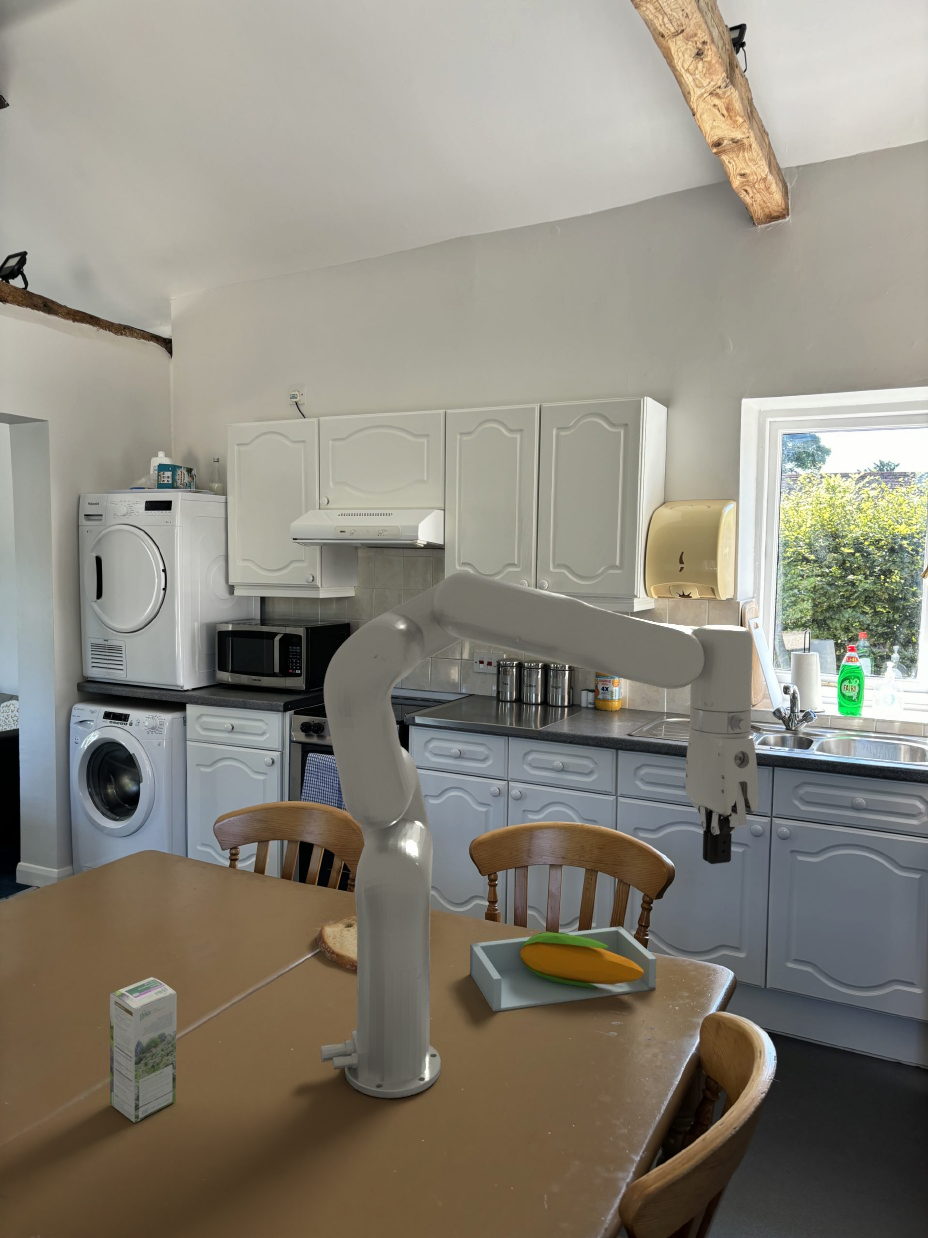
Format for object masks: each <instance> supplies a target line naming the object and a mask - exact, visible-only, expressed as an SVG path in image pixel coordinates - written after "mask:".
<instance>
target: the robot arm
mask: <svg viewBox="0 0 928 1238" xmlns="http://www.w3.org/2000/svg"><path fill="white" fill-rule="evenodd" d="M462 640H466V641H469V642H472V643H477V644H480V645H481V644H482V645H486V646H489V647H495V648H500V649H503V650H508V651H512V652H517V653H520V654H523V655H527V656H531V657H536V658H539V659H544V660H547V661H551V662H555V663H557V664H561V665H565V666H572V667H576V668H582V669H585V670H589V671H593V672H597V673H600V674H604V675H607V676H611V677H615V678H619V679H622V680H626V681H627V680H628V681H632V682H635V683H640V684H644V685H648V686H653V687H656V688H661V689H666V690H677V689H682V688H685V687H687V686H689V685H690V696H689V699H690V700H689V701H690V704H689V705H690V706H689V709H690V710H689V736H688V742H687V748H686V749H687V750H686V761H685V779H684V781H685V782H684V783H685V793H686V795H687V797H688V798H689V799H690V801H691V805H692V806H693V807H694V808H695V809H696V811H697V812H698V813H699V815H700V816H699V817H700V827H701V829H702V830H703V832H702V859H703V861H705V862H707V863H708V864H711V865H717V864H725V863H730V862H731V860H732V834H734V833H735V830H736V828H741V827H747V824H748V821H747V813H748V814H755V813H757V810H758V808H759V807H758V805H759V790H758V789H759V784H758V782H759V781H758V763H757V755H756V753H757V752H756V747H755V743H754V742H755V741H754V738H753V736H751V726H752V723H751V720H752V690H753V689H752V688H753V685H752V684H753V683H752V681H753V647H754V645H753V642H754V641H753V636H752V632H751V631H750V630H749V629H748V628H746V627H743V626H739V625H728V624H727V625H726V624H724V625H723V624H713V625H712V624H711V625H710V624H709V625H708V624H707V625H702V626H689V625H687V626H686V625H677V624H670V623H664V622H663V623H662V622H653V621H649V620H645V619H641V618H637V617H633V616H628V615H625V614H621V613H617V612H613V611H609V610H606V609H603V608H600V607H597V606H594V605H591V604H589V603H587V602H584V601H583V600H579V599H577V598H574V597H571V596H567V595H564V594H561V593H556V592H551V591H546V590H545V589H544V590H542V589H539V588H536V587H530V586H528V585H527V586H526V585H523V584H518V583H513V582H509V581H505V580H503V579H497V578H494V577H490V576H485V575H481V574H477V573H473V572H469V571H461V572H460V571H459V572H455V573H453V574H450V575H449V576H447V577H446V578H444V579H443V580H440V581H439V582H438V583H436V584H435V585H433V586H432V587H431V586H430V587H429V588H428V589H426V590H424V591H423V592H421V593H419V594H418V595H415V596H413V597H412V598H410V599H408V600H405V602H403V603H400V604H399V605H397V606H395V607H393V608H392V609H389V610H388V611H386V612H383V613H382V614H379V615H378V616H377V617H374V618H373V619H371V620H369V621H368V622H366V623H365V624H363V625H362V626H360V628H358V629H357V630H356V631H355V632H354V633H352V634H351V635H350V636H349V637H348V638H347V639H346V640H345V641H344V642H343V643H342V644H341V646H339V648H338V649H337V650H336V651H335V653H334V655H333V656H332V658H331V660H330V662H329V664H328V667H327V670H326V673H325V677H324V683H323V701H324V706H325V707H324V708H325V713H326V714H325V715H326V720H327V723H328V729H329V734H330V738H331V739H330V740H331V744H332V750H333V754H334V755H333V756H334V759H335V764H336V769H337V774H338V778H339V782H340V783H339V784H340V791H341V797H342V800H343V804H344V807H345V809H346V811H347V813H348V815H349V816H350V817H351V818H352V820H354V822H356V823H357V824H358V825H360V829H361V833H362V837H363V842H364V843H363V844H364V846H363V849H362V851H361V854H360V857H359V860H358V863H357V866H356V874H355V883H354V894H355V896H354V897H355V911H356V912H355V913H356V915H357V971H356V972H357V973H356V974H357V976H356V981H357V982H356V983H357V984H356V985H357V987H356V999H357V1001H356V1005H357V1006H356V1008H357V1009H356V1014H357V1015H356V1020H357V1021H356V1030H353V1031H351V1039H347V1040H344V1043H339V1044H338V1043H337V1044H328V1045H327V1044H326V1045H321V1046H320V1059H321V1063H327V1062H332V1068H333V1070H335V1071H336V1070H339V1069H344V1075H345V1079H346V1080H347V1082H348V1083H349V1084H350V1086H352V1087H353V1088H354V1089H355V1090H356V1091H359V1092H360V1093H362V1094H366V1095H368V1096H371V1097H374V1098H375V1097H376V1098H382V1099H397V1098H403V1097H404V1098H405V1097H409V1096H411V1095H412V1096H413V1095H416V1094H418V1093H421V1092H422V1091H425V1090H426V1089H428V1088H429V1087H431V1086H432V1085H433V1084H434V1083H435V1082H436V1081H437V1080H438V1079H439V1076H440V1074H441V1067H442V1066H441V1065H442V1062H441V1057H440V1054H439V1053H438V1051H437V1050H436V1049H435V1048H434V1047H433V1046H432V1045H431V1044H430V1024H431V1023H430V1019H431V1018H430V1009H431V1005H430V1004H431V1001H430V1000H431V999H430V998H431V900H432V899H431V895H432V876H433V875H432V873H433V857H434V856H433V855H434V845H433V844H434V843H433V837H432V832H431V828H430V823H429V818H428V817H429V816H428V814H427V810H426V804H425V801H424V795H423V791H422V790H423V789H422V785H421V783H420V782H421V781H420V777H419V773H418V770H417V766H416V763H415V761H414V759H413V757H412V756H411V754H410V753H409V752H408V751H407V750H406V749H405V748H404V747H402V745H401V742H400V738H399V734H398V733H399V732H398V728H397V727H398V726H397V722H396V716H395V712H394V710H393V707H392V701H391V699H392V693H393V689H394V687H395V686H396V685H397V684H398V683H399V682H400V681H402V680H404V679H405V678H406V677H408V676H409V675H410V674H411V673H412V672H414V670H415V668H416V666H417V665H419V664H421V663H422V662H424V661H426V660H427V659H430V658H432V657H433V656H435V655H437V654H439V653H441V652H442V651H444V650H447V649H448V648H450V647H451V646H453V645H455V644H456V643H458V642H460V641H462Z"/></svg>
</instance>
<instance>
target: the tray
mask: <svg viewBox="0 0 928 1238" xmlns="http://www.w3.org/2000/svg"><path fill="white" fill-rule="evenodd" d="M565 933H566V934H569V935H575V936H580V937H585V938H589V939H593V940H596V941H598V942H601V943H603V944H605V945H607V946H609V947H608V948H606V949H604V950H607V951H609V952H612V953H614V954H617V955H620V956H622V957H625V958H627V959H630V960H631V961H633V962H634V963H636V964H637V965H638V966H640V967H641V968H642V969H643V971H644V974H643V976H642V977H641V978H640V979H638V980H636V981H632V982H626V983H619V984H613V985H611V984H592V985H595V986H597V987H598V988H591V987H583V986H576V985H570V984H565V983H559V982H554V981H552V980H549V979H546V978H543V977H540V976H538V975H536V974H535V973H533V972H531V971H530V970H529V969H528V968H527V967H525V965H524V964H523V963H522V960H521V959H520V949H521V947H522V945H523V944H524V943H525V942H526V941H527V940H528V939H529V938H531V937H532V936H526V937H518V938H510V939H501V940H493V941H492V940H491V941H490V940H489V941H483V942H475V943H470V945H469V947H470V949H469V950H470V951H469V954H470V955H469V974H470V977H472V979H473V981H474V982H475V984H476V986H477V987H478V988H479V991H480V992H481V994H482V995H483V997H484V999H485V1000H486V1002H487V1003H488V1005H489V1007H490V1008H491V1010H492V1011H493V1012H494V1013H495V1012H501V1011H508V1010H514V1009H522V1008H530V1007H536V1006H544V1005H551V1004H559V1003H564V1002H573V1001H580V1000H587V999H594V998H602V997H609V996H615V995H623V994H628V993H629V994H630V993H637V992H645V991H651V990H656V987H657V986H656V984H657V957H655V956H654V954H653V953H651V952H650V951H649V950H648V949H647V948H645V947H644V946H643V945H642V944H641V943H640V942H639V941H638V940H637V939H636V938H634V937H633V936H632V935H631V934H630V933H629V932H628V931H626V929H624V928H623V927H622V926H614V927H613V926H611V927H604V928H596V929H595V928H594V929H588V930H578V931H569V932H565Z"/></svg>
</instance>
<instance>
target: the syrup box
mask: <svg viewBox="0 0 928 1238" xmlns="http://www.w3.org/2000/svg"><path fill="white" fill-rule="evenodd" d="M177 1000H178V999H177V992H176V991H175V990H174V989H172V988H171V987H170V986H169V985H168V984H166V983H164V982H163V981H161V980H159V979H157V978H155V977H149V978H146V979H143V980H141V981H137V982H136V983H133V984H131V985H128V986H126V987H124V988H123V987H122V988H121V989H118V990H116V991H113V992H111V993H110V994H109V1019H110V1020H109V1055H110V1057H109V1060H110V1063H109V1065H110V1067H109V1069H110V1071H109V1072H110V1073H109V1078H110V1079H109V1083H110V1084H109V1089H110V1090H109V1093H110V1095H109V1096H110V1099H109V1101H110V1105H111V1106H112V1107H113V1108H115V1109H116V1110H117V1111H118V1112H120V1113H121V1114H122V1115H124V1116H125V1117H126V1118H128V1119H129V1120H130V1121H132V1122H133V1123H134V1124H135V1123H137V1122H139V1121H142V1120H143V1119H145V1118H147V1117H150V1116H151V1115H152V1114H154V1113H157V1112H158V1111H160V1110H162V1109H164V1108H166V1107H167V1106H168V1107H169V1106H170V1105H171V1104H173V1103H175V1102H176V1100H177Z"/></svg>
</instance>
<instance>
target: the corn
mask: <svg viewBox="0 0 928 1238" xmlns="http://www.w3.org/2000/svg"><path fill="white" fill-rule="evenodd" d="M566 933H567V932H555V931H545V932H540V933H537V934H536V935H533V936H530V937H531V938H529V939H528V940H527V941H526V942H525V943H524V944H523V945H522V947H521V949H520V959H521V960H522V963H523V964H524V965H525V967H527V968H528V969H529V970H530V971H531V972H533V973H535V974H536V975H538V976H540V977H543V978H546V979H549V980H552V981H554V982H559V983H565V984H570V985H576V986H583V987H591V988H598V987H597V986H595V985H592V984H611V985H613V984H619V983H626V982H632V981H636V980H638V979H640V978H641V977H642V976H643V974H644V971H643V969H642V968H641V967H640V966H638V965H637V964H636V963H634V962H633V961H631V960H630V959H627V958H625V957H622V956H620V955H617V954H614V953H612V952H609V951H607V950H604V949H606V948H608V947H609V946H607V945H605V944H603V943H601V942H598V941H596V940H593V939H589V938H585V937H580V936H575V935H569V934H566Z"/></svg>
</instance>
